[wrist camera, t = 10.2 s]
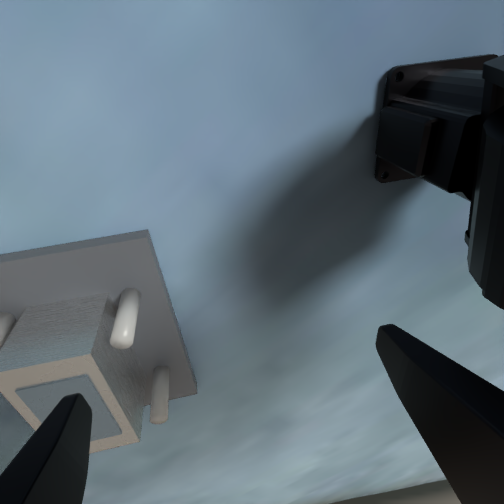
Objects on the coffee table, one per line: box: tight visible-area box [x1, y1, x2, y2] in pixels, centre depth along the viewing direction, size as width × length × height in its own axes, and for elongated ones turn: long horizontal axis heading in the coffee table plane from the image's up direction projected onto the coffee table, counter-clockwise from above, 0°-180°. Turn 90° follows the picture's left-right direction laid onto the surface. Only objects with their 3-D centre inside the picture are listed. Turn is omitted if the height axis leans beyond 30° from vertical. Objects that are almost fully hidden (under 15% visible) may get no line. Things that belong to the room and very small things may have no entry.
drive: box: [0, 292, 147, 454], centre depth 20 cm, size 5×9×5 cm, turn 5°
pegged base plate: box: [0, 230, 197, 424], centre depth 21 cm, size 12×16×5 cm
